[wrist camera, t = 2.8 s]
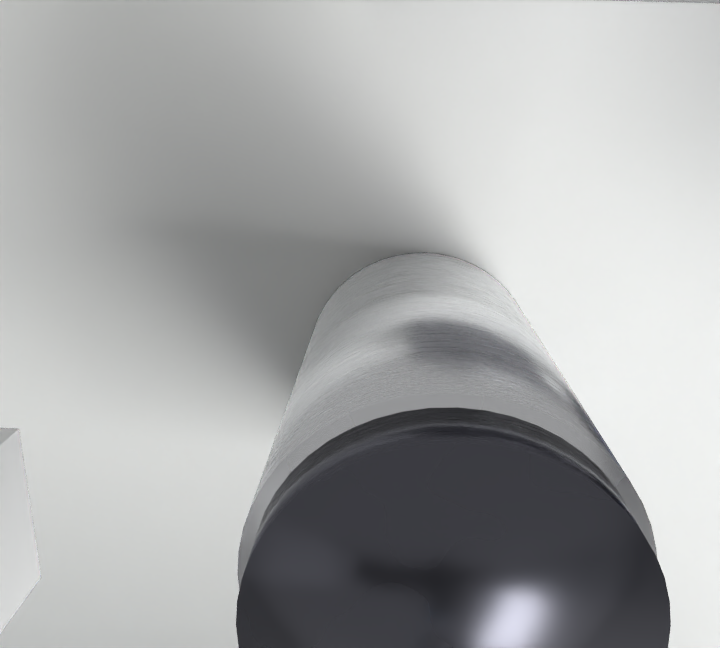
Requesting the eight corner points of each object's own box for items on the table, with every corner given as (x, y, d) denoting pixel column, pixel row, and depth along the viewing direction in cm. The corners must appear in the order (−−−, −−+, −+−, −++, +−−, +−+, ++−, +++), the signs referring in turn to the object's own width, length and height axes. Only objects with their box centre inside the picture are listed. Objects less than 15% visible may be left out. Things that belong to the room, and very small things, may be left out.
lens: (520, 465, 19) (647, 819, 10) (308, 455, 19) (227, 791, 10) (543, 257, 17) (728, 439, 8) (310, 248, 18) (212, 416, 8)
